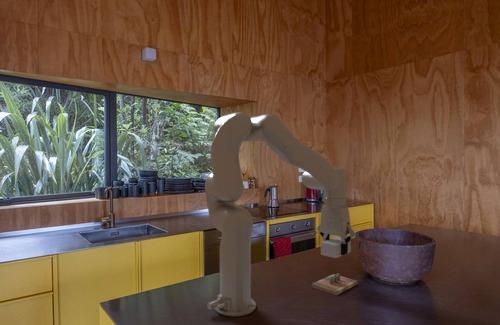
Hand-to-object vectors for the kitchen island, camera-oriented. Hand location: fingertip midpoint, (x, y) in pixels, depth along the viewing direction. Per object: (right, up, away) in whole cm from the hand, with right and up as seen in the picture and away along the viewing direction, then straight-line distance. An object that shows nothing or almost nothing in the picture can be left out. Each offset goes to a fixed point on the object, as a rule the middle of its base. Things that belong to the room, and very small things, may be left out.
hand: (335, 251), depth 124 cm
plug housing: (0, -1, 0) cm, 1 cm away
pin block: (0, -12, 0) cm, 12 cm away
